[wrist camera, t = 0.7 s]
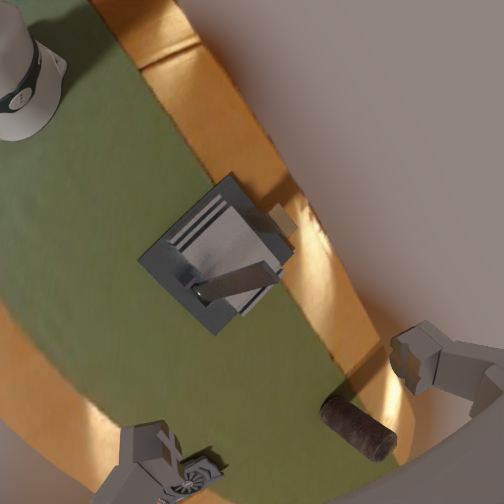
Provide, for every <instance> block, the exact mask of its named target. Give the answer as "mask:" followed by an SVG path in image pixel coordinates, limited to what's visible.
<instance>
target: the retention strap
mask: <svg viewBox="0 0 504 504" xmlns="http://www.w3.org/2000/svg"><path fill="white" fill-rule="evenodd" d="M279 280H280V278H279V276H278V275H277V274H276V273H275V272H274V271H273V269H272V268H271V267H270V266H269V265H268V264H267V262H266V261H265V260H263V261H260V262H257V263H254V264H251V265H249V266H246V267H243V268H240V269H237V270H234V271H231V272H229V273H226V274H223V275H220V276H217V277H214V278H211V279H208V280H206V281H203V282H200V283H194V284H193V285H192V286H191V288H190V289H191V290H192V291H193V292H194V293H195V294H196V295H197V296H198V297H199V298H200V299H201V300H202V301H204V302H205V303H206V304H207V303H208V302H210V301H213V300H217V299H221V298H225V297H228V296H232V295H236V294H240V293H244V292H248V291H251V290H255V289H259V288H262V287H266V286H270V285H274V284H277V283H278V282H279Z"/></svg>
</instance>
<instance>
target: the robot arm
mask: <svg viewBox="0 0 504 504" xmlns="http://www.w3.org/2000/svg"><path fill="white" fill-rule="evenodd" d="M56 62H58V63H56ZM66 69H67V63H66V61H65V60H64V59H62V58H61V57H60V56H58V55H57V54H55V53H54V52H52V51H51V50H49V49H48V48H47V47H45V46H44V45H42V44H41V43H39V42H38V41H36V40H35V39H34V37H33V36H32V35H31V34H30V33H29V32H28V30H27V27H26V25H25V22H24V20H23V17H22V14H21V12H20V11H19V9H18V8H17V7H16V6H14V5H13V4H11V3H8V2H5V1H0V139H1V140H7V141H17V140H22V139H25V138H27V137H30V136H31V135H33V134H35V133H36V132H38V131H39V130H40V129H41V128H42V127H44V126H45V125H46V123H47V122H48V121H49V120H50V119H51V117H52V116H53V114H54V112H55V110H56V108H57V106H58V104H59V101H60V96H61V82H62V78H63V76H64V74H65V71H66ZM390 346H391V347H392V348H393V351H392V352H391V354H390V364H391V367H392V369H393V371H394V373H395V374H396V375H397V376H398V377H399V378H403V379H405V385H406V387H407V388H408V389H409V390H410V391H411V392H412V393H413V395H414V396H416V395H417V394H419V393H421V392H423V391H425V390H426V389H428V388H430V387H432V386H434V387H435V388H438V389H440V390H443V391H446V392H448V393H451V394H454V395H457V396H459V397H462V398H465V399H468V400H470V401H473V402H474V403H473V405H472V407H471V410H470V413H469V416H470V417H471V418H472V420H470V421H469V422H468V423H466V424H465V425H464V426H463V427H461V428H460V429H458V430H457V431H456V432H454V433H453V434H451V435H450V436H448V437H447V438H446V439H444V440H442V441H441V442H440V443H438V444H437V445H435V446H433V447H432V448H430V449H429V450H427V451H426V452H424V453H422V454H421V455H419V456H418V457H416V458H414V459H413V460H411V461H409V462H407V463H406V464H404V465H402V466H400V467H399V468H397V469H395V470H393V471H391V472H390V473H388V474H386V475H384V476H382V477H380V478H378V479H376V480H374V481H372V482H370V483H368V484H366V485H364V486H362V487H360V488H357V489H355V490H353V491H351V492H349V493H346V494H344V495H342V496H339V497H337V498H335V499H332V500H330V501H327V502H325V503H322V504H504V349H498V348H493V347H488V346H482V345H477V344H472V343H467V342H461V341H455V342H453V341H452V340H451V339H450V338H448V337H447V336H446V335H445V334H444V333H442V332H441V331H440V330H439V329H438V328H436V327H435V326H434V325H433V324H431V323H430V322H429V321H427V320H424V321H423V322H421V323H419V324H417V325H415V326H413V327H411V328H409V329H408V330H406V331H404V332H402V333H400V334H398V335H396V336H394V337H392V339H391V345H390ZM182 457H183V456H182V450H181V446H180V443H179V441H178V439H177V437H176V435H175V434H174V433H173V432H170V431H169V427H168V424H167V423H166V422H165V421H164V420H159V421H154V422H149V423H143V424H138V425H133V426H127V427H122V429H121V432H120V449H119V465H118V466H115V467H114V468H113V470H112V471H111V473H110V474H109V475H108V477H107V478H106V480H105V481H104V483H103V484H102V485H101V487H100V488H99V490H98V491H97V492H96V494H95V495H94V497H93V498H92V500H91V501H90V502H89V504H157V502H158V500H159V498H160V495H161V493H162V491H163V489H164V488H163V487H167V486H172V485H177V484H182V483H186V479H185V471H184V467H183V465H182V464H181V463H180V460H181V459H182Z"/></svg>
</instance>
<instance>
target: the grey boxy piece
mask: <svg viewBox="0 0 504 504" xmlns="http://www.w3.org/2000/svg"><path fill="white" fill-rule="evenodd" d="M297 228H298V227H297V225H296V224H295V223H294V222H293V220H292V219H291V218H290V216H289V215H288V214H287V213H286V211H285V210H284V209H283V207H282V206H281V205H280V204H279V203H275V204H274V205H273V206H262V207H256V206H255V205H254V204H253V202H252V201H251V200H250V199H249V198H248V196H247V195H246V194H245V193H244V192H243V190H242V189H241V188H240V187H239V186H238V184H237V183H236V182H235V181H234V180H233V178H232V177H231V176H230V175H227V176H226V177H225V178H224V179H223V180H221V181H220V182H219V183H218V184H217V185H216V186H215V187H214V188H213V189H211V190H210V191H209V192H208V193H207V194H206V195H205V196H204V197H203V198H202V199H201V200H199V201H198V202H197V203H196V204H195V205H194V206H193V207H192V208H191V209H190V210H189V211H188V212H187V213H186V214H184V215H183V216H182V217H181V218H180V219H179V220H178V221H177V222H176V223H175V224H174V225H173V226H172V227H171V228H170V229H169V230H168V231H167V232H166V233H165V234H164V235H163V236H162V237H161V238H159V239H158V240H157V241H156V242H155V243H154V244H153V245H152V246H151V247H150V248H149V249H148V250H147V251H146V252H145V253H144V254H143V255H142V256H141V257H140V258H139V259H138V262H139V263H140V264H141V265H142V266H143V267H144V268H145V269H146V270H147V271H148V272H149V273H150V274H151V275H152V276H153V277H154V278H155V279H156V280H157V281H158V282H159V283H160V284H161V285H162V286H163V287H164V288H165V289H166V290H167V291H168V292H169V293H170V294H171V295H172V296H173V297H174V298H175V299H176V300H177V301H178V302H179V303H180V304H181V305H182V306H183V307H184V308H185V309H186V310H187V311H188V312H190V313H191V314H192V315H193V316H194V317H195V318H196V319H197V320H198V321H199V322H200V323H201V324H202V325H203V326H204V327H206V328H207V329H208V330H209V331H210V332H211V333H212V334H213V335H214V336H216V335H217V334H218V333H219V332H220V331H221V330H222V328H223V327H224V326H225V325H226V324H227V323H228V322H229V321H230V320H231V319H232V318H233V317H234V316H235V315H236V314H237V313H239V314H240V315H241V316H243V317H244V316H245V315H246V314H247V313H248V312H249V311H250V310H251V309H252V307H253V306H254V305H255V304H256V303H257V302H258V301H259V300H260V299H261V298H262V297H263V296H264V295H265V294H266V293H267V292H268V291H269V290H270V288H271V287H272V286H273V285H270V286H266V287H262V288H259V289H255V290H251V291H248V292H244V293H240V294H236V295H232V296H228V297H225V298H221V299H217V300H213V301H210V302H208V303H207V304H206V303H205V302H204V301H202V300H201V299H200V298H199V297H198V296H197V295H196V294H195V293H194V292H193V291H192V290H191V289H190V288H191V286H192V285H193V284H194V283H200V282H203V281H206V280H208V279H211V278H214V277H217V276H220V275H223V274H226V273H229V272H231V271H234V270H237V269H240V268H243V267H246V266H249V265H251V264H254V263H257V262H260V261H263V260H265V261H266V262H267V264H268V265H269V266H270V267H271V268H272V269H273V271H274V272H275V273H276V274H277V275H278V276H279V278H281V277H282V276H283V275H284V274H285V271H284V270H283V269H280V268H281V267H282V266H283V265H284V264H285V263H286V261H287V260H288V259H289V258H290V257H291V256H292V255H293V254H294V253H293V251H292V250H291V249H290V248H289V246H288V245H287V244H286V243H285V242H284V240H283V239H282V238H281V237H280V235H284V237H286V238H289V237H290V236H291V235H292V233H293V232H294V231H295V230H296V229H297Z"/></svg>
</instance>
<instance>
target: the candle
mask: <svg viewBox="0 0 504 504" xmlns="http://www.w3.org/2000/svg"><path fill="white" fill-rule="evenodd" d="M319 416H320V420H322V421H323V422H324V423H325V424H326V425H327V426H329V427H330V428H331V429H332V430H333V431H335V432H336V433H337V434H338V435H340V436H341V437H342V438H343V439H345V440H346V441H347V442H348V443H349V444H351V445H352V446H353V447H355V448H356V449H357V450H358V451H360V452H361V453H362V454H363V455H365V456H366V457H367V458H368V459H370V460H371V461H372V462H374V463H380V462H382V461H383V460H384V459H385V458H386V457H387V456H388V455H390V454H391V453H392V452H393V451H394V449H395V447H396V446H397V436H396V434H395V433H394V432H393V431H391V430H390V429H388V428H387V427H385V426H384V425H382V424H381V423H379V422H378V421H376V420H375V419H373V418H372V417H370V416H369V415H367V414H366V413H365V412H363V411H362V410H360V409H359V408H358V407H356V406H355V405H353V404H352V403H351V402H349V401H348V400H346V399H345V398H343V397H341V396H340V397H334V398H332V399H330V400H329V401H328V402H327V403H326V404H325V405H324V406H323V408H322V410H321V411H320V415H319Z"/></svg>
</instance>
